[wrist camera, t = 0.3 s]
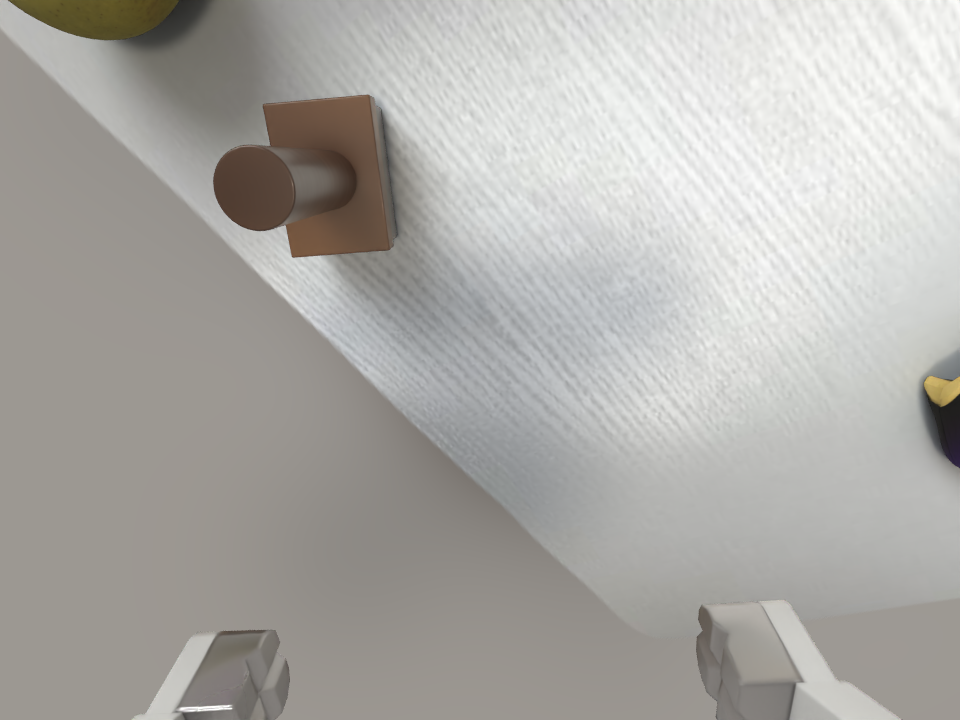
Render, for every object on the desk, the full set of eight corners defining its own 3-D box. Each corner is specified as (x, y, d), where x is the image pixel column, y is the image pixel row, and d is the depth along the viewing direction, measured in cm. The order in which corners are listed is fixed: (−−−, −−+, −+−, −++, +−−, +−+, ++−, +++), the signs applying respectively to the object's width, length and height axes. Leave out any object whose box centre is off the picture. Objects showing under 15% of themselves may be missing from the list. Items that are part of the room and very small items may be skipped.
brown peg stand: (401, 239, 30) (346, 289, 18) (314, 246, 30) (205, 300, 19) (384, 102, 28) (309, 61, 16) (290, 110, 28) (149, 75, 16)
